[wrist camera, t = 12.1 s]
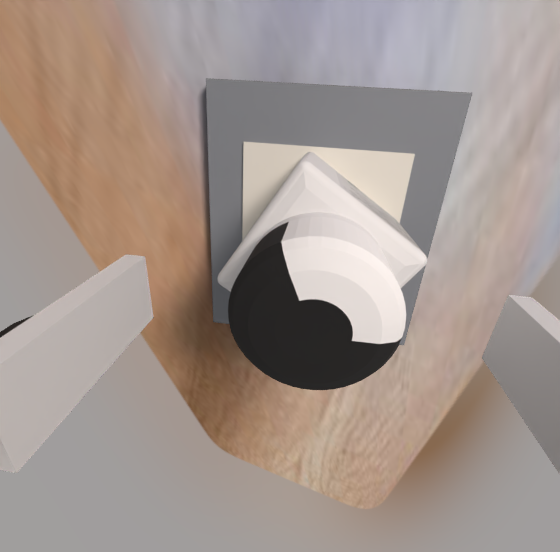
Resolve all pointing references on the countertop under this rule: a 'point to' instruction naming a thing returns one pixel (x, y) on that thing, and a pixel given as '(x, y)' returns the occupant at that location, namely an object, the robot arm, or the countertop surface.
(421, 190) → the board
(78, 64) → the countertop surface
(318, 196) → the container
